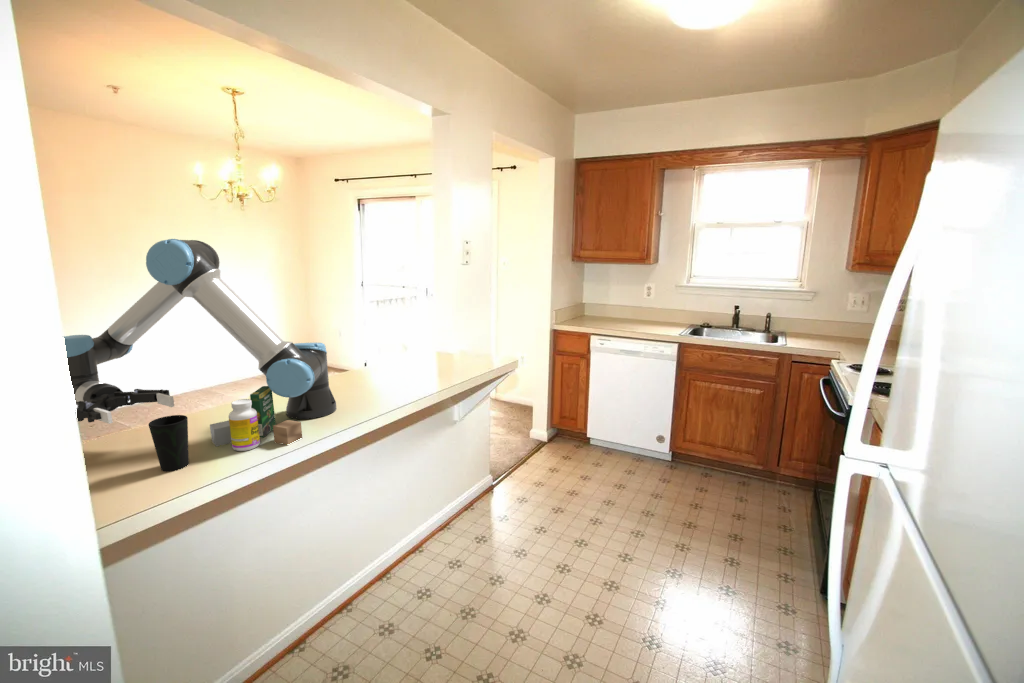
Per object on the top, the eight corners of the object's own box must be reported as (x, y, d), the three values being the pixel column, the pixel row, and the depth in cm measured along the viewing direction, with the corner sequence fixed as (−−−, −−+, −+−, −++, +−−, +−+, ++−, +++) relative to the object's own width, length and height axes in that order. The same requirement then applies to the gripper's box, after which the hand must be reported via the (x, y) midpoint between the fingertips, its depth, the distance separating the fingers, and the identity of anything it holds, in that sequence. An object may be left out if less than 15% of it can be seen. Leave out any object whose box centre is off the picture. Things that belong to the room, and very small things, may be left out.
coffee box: (264, 438, 133) (259, 393, 130) (253, 438, 133) (248, 393, 130) (277, 427, 141) (272, 385, 138) (267, 427, 141) (262, 385, 138)
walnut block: (289, 436, 134) (287, 419, 133) (302, 438, 132) (300, 422, 131) (274, 442, 130) (272, 425, 129) (288, 445, 128) (286, 428, 127)
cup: (200, 459, 119) (194, 414, 117) (180, 473, 112) (173, 425, 110) (169, 459, 119) (163, 415, 117) (148, 473, 112) (140, 426, 109)
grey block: (232, 436, 134) (230, 420, 133) (236, 441, 131) (234, 424, 130) (211, 441, 131) (209, 424, 130) (216, 446, 127) (213, 429, 126)
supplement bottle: (255, 451, 124) (249, 404, 122) (228, 452, 123) (222, 406, 121) (264, 441, 131) (259, 397, 128) (238, 442, 130) (233, 398, 127)
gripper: (153, 397, 138) (196, 409, 129) (41, 424, 116) (82, 441, 107) (150, 373, 137) (193, 382, 127) (35, 395, 115) (77, 409, 105)
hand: (142, 409), depth 117 cm, fingers open, 13 cm apart
